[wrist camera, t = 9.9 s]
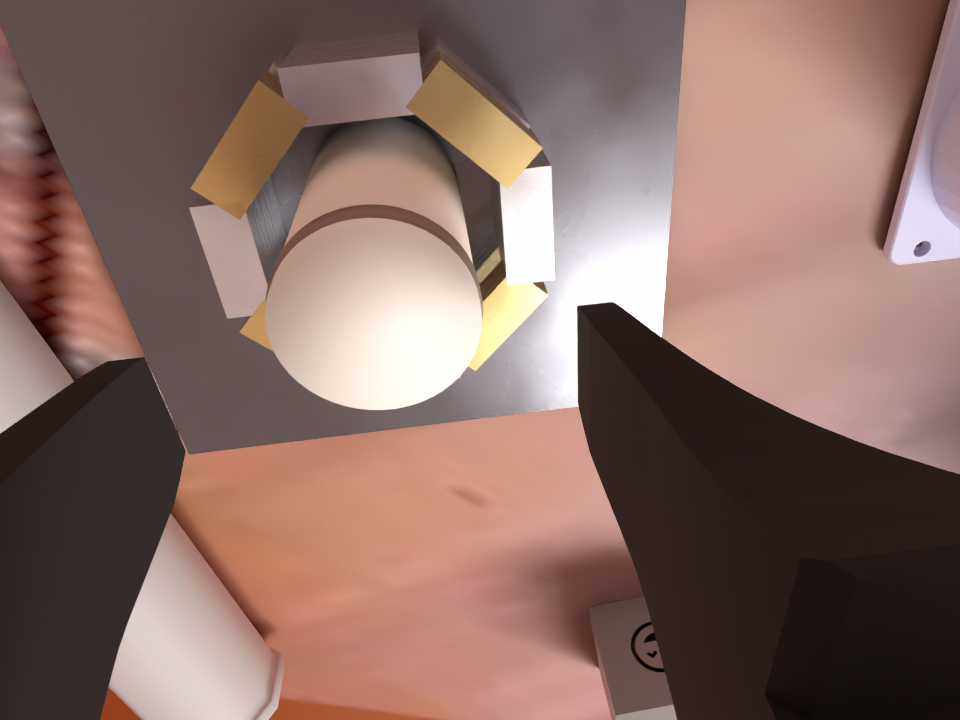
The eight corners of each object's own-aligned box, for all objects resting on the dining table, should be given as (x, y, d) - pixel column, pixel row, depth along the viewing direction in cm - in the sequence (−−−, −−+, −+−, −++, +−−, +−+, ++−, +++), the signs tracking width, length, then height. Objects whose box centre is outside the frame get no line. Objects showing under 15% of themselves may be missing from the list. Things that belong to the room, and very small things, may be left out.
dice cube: (699, 647, 33) (740, 753, 29) (598, 667, 33) (625, 775, 29) (697, 583, 30) (743, 690, 26) (587, 606, 31) (615, 715, 26)
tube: (-533, 153, 13) (134, 760, 27) (-393, 102, 12) (245, 780, 25) (-247, 77, 17) (207, 638, 31) (-111, 31, 16) (306, 647, 29)
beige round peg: (459, 112, 17) (486, 219, 12) (460, 257, 20) (483, 407, 14) (297, 114, 17) (242, 226, 11) (317, 262, 19) (280, 417, 14)
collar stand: (691, -204, 15) (762, -232, 12) (652, 386, 24) (686, 455, 21) (-50, -126, 14) (-171, -135, 11) (193, 442, 23) (162, 520, 20)
